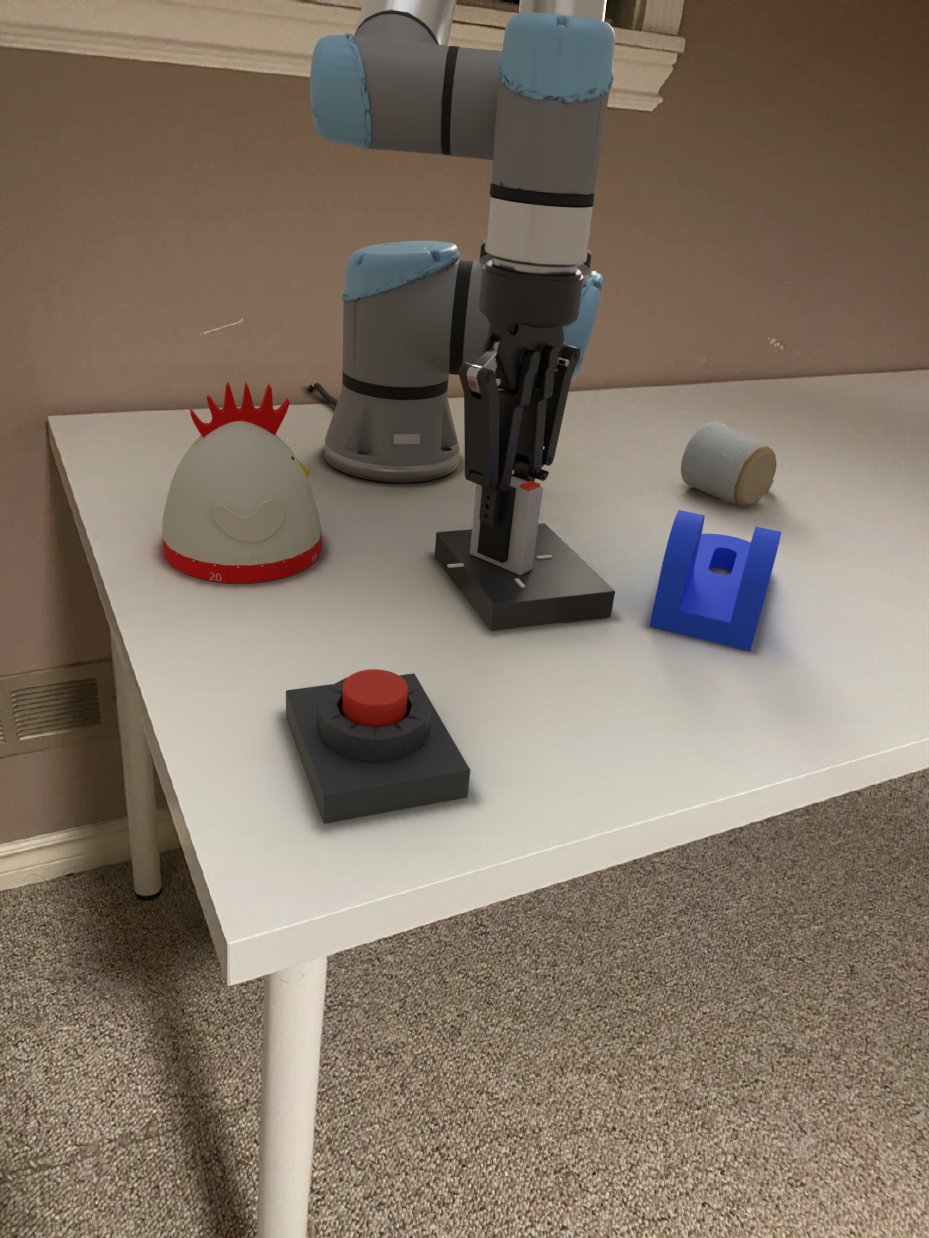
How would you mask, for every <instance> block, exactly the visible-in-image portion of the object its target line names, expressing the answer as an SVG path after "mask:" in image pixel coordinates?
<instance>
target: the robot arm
mask: <svg viewBox="0 0 929 1238" xmlns="http://www.w3.org/2000/svg"><path fill="white" fill-rule="evenodd" d="M457 1H458V0H363V3H362V5H361V9H360V13H359V16H358V19H357V23H356V25H355V29H354V32H353V34H352V33H349V32H346V33H343V34H342V35H341V34H328V35H325V36H324V37H320V38H319V39H318V40H317V42H316V43H315V46H314V47H313V52H312V57H311V62H310V63H311V64H310V73H309V77H310V78H309V97H310V98H309V99H310V111H311V119H312V122H313V126H314V128H315V132H316V133H317V135H318V136H319V137H320V138H321V139H322V140H324V141H325V142H327V143H329V144H331V143H332V144H335V145H336V144H338V145H344V146H348V147H356V148H360V149H361V150H363V151H369V150H381V151H391V152H403V153H404V152H407V153H417V154H427V155H428V154H431V155H440V156H450V157H457V158H468V159H476V160H486V161H492V166H491V167H492V168H491V183H490V185H489V186H490V188H489V201H488V211H487V212H488V213H487V223H486V232H485V239H484V240H482V242H481V243H480V251H479V260H464V259H460V252H459V247H458V246H457V244H455V243H453V242H449V241H438V240H403V241H394V242H383V243H378V244H371V245H368V246H365V247H361V248H359V249H357V250H355V251H354V252H353V253H351V254H350V256H349V257H348V258H347V260H346V263H345V269H344V283H343V292H342V294H341V301H343V309H342V311H343V312H342V313H343V314H342V317H343V319H342V377H341V378H342V379H341V392H340V394H339V396H338V399H337V398H335V397H333V396H332V395H330V393H328V392H327V390H326V389H325V388H324V387H323V385H321V384H320V383H318V382H316V383H315V384H314V387H313V386H312V385H311V384H312V383H310V384H309V385H308V388H307V390H306V391H308V392H314V391H315V390H316V391H317V392H318V393H319V394H320V396H321V397H322V398H323V399H324V400H325V401H326V402H328V403H329V404H331V405H332V406H333V407H335V408H334V411H333V414H332V417H331V420H330V423H329V426H328V429H327V432H326V435H325V437H324V458H325V461H326V462H327V464H329V465H330V466H331V467H333V468H334V469H335V470H338V471H339V472H342V473H344V474H346V475H349V476H353V477H357V478H360V479H364V480H369V481H374V482H375V481H376V482H385V483H419V482H426V481H431V480H436V479H440V478H443V477H445V476H447V475H449V474H451V473H452V472H454V471H455V470H456V469H457V468H458V465H459V459H460V443H459V439H458V436H457V430H456V427H455V423H454V419H453V414H452V411H451V407H450V402H449V396H448V393H449V392H448V391H449V376H450V375H455V376H458V377H459V382H460V384H461V387H462V388H461V389H462V391H463V409H464V410H463V414H464V415H463V419H464V420H463V423H464V424H463V425H464V427H463V428H464V430H463V431H464V435H463V436H464V479H465V480H466V481H469V482H472V483H473V484H475V485H476V484H479V485H481V486H482V494H481V504H480V505H481V506H480V514H479V518H480V530H479V540H478V550H477V553H479V554H482V555H484V556H486V557H489V558H491V559H494V560H496V561H498V562H501V563H504V562H506V561H508V554H509V546H510V537H511V529H512V520H513V512H514V503H515V494H516V488H513V487H510V483H511V477H512V476H513V477H516V478H519V479H522V480H525V481H527V482H528V481H534V482H536V480H539V481H541V482H545V481H546V480H547V479H548V476H549V474H550V471H549V470H546V469H542V468H543V467H544V466H547V467H551V465H552V464H553V463H554V461H555V458H556V457H555V456H556V452H557V447H558V443H559V439H560V438H559V437H560V433H561V428H562V424H563V419H564V414H565V409H566V405H567V401H568V397H569V392H570V386H571V382H572V381H574V380H575V379H576V378H577V376H578V375H579V373H580V371H581V369H582V367H583V363H584V360H585V357H586V354H587V350H588V347H589V344H590V340H591V337H592V333H593V329H594V325H595V320H596V317H597V313H598V309H599V304H600V300H601V294H602V287H603V285H604V277H603V275H602V274H601V273H598V271H596V270H591V264H592V252H591V249H589V246H590V237H591V230H592V220H593V213H594V202H595V196H596V195H595V189H596V183H597V177H598V171H599V165H600V157H601V152H602V146H603V139H604V134H605V133H604V132H605V126H606V119H607V112H608V105H609V104H608V103H609V98H610V90H611V89H612V87H613V83H614V78H615V76H614V74H613V73H614V69H613V68H614V57H615V55H614V54H615V44H616V33H615V30H614V28H613V27H612V26H611V24H609V22H606V21H605V14H606V6H607V0H519V9H518V10H519V12H518V13H516V14H514V15H513V16H511V17H510V18H509V20H508V21H507V23H506V25H505V27H504V33H503V42H502V48H501V50H497V49H484V48H475V47H474V48H472V47H463V46H458V45H449V41H450V35H451V31H452V26H453V21H454V16H455V11H456V7H457V3H458V2H457Z"/></svg>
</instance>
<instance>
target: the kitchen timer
mask: <svg viewBox="0 0 929 1238" xmlns="http://www.w3.org/2000/svg"><path fill="white" fill-rule="evenodd" d="M224 388H225V389H224V398H223V406H222V408H220V407H219V406H218V405H217V403H216V402H215V401H214V399H213V398H212V397H211V395H209V394H207V395H206V401H207V406H208V408H209V412H210V414H211V421H210V422H204V421H202V419H200V417H199V416H198V415H197V413H196V412H195V411H194V410H193V409H192V408H190V409H189V413H190V417H191V420H192V422H193V424H194V426H195V427H196V430H197V432H198V433H199V434H200V435H199V436H198V437H197V438H196V439H195V441H193V443H191V445H190V447H189V448H188V449H187V451H186V452H185V453H184V455H183V456H182V458H181V460H180V461H179V463H178V464H177V467H176V469H175V471H174V474H173V476H172V479H171V482H170V486H169V489H168V493H167V497H166V501H165V505H164V510H163V516H162V527H161V530H162V546H163V556H164V558H165V560H166V561H167V562H168V563H169V565H170V566H171V567H173V568H174V569H176V570H177V571H179V572H181V573H183V574H185V575H187V576H191V577H194V578H198V579H200V580H204V581H211V582H218V583H225V584H254V583H264V582H271V581H276V580H279V579H280V580H281V579H284V578H286V577H290V576H294V575H297V574H299V573H300V572H302V571H304V570H306V569H307V568H310V567H311V566H312V565H313V564H314V563H315V562H316V561H317V560H318V559H320V555H321V552H322V548H323V547H322V543H323V541H322V539H323V538H322V537H323V536H322V535H323V534H322V533H323V532H322V524H321V523H322V522H321V517H320V513H319V510H318V506H317V503H316V500H315V497H314V494H313V491H312V488H311V485H310V482H309V480H308V477H309V476H310V473H311V471H310V469H309V468H308V467H307V466H306V465H304V463H302V462H301V461H300V460H299V459H298V458H297V456H296V455H295V453H294V452H293V451H292V449H291V447H290V446H288V444H287V443H286V442H285V441H284V440H283V439H282V438H281V437H280V436H278V435H277V433H278V432H279V429H280V427H281V425H282V423H283V421H284V419H285V418H286V415H287V413H288V410H289V407H290V400H289V398H288V397H286V399H284V401H283V402H282V403H281V405H280V406H279V407H278V408H277V409H275V408H274V398H273V389H272V386H271V384H270V383H268V384H267V386H266V388H265V390H264V394H263V398H262V400H261V404H260V406H258V408H257V407H255V405H254V401H253V397H252V393H251V391H250V387H249V385H248V382H247V381H245V382H244V386H243V394H242V401H241V405H240V407H237V405H236V402H235V397H234V394H233V390H232V388H231V384H230V383H229V381H226V383H225V387H224Z"/></svg>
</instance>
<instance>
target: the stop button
mask: <svg viewBox="0 0 929 1238" xmlns="http://www.w3.org/2000/svg"><path fill="white" fill-rule="evenodd" d="M399 675H400V674H397V673H395V672H392V671H390V670H385V669H379V668H377V669H375V668H374V669H373V668H372V669H371V668H370V669H363V670H359V671H356V672H353V673H352V674H350V675H349V676H347V677H348V678H347V677H346V678H347V679H346V680H345V682H344V684H343V701H342V710H343V713H344V715H345V717H346V718H347V719H348V720H350V721H352V722H353V723H355V724H358V725H364V726H370V727H381V726H387V725H394V724H396V723H398V722H400V721H401V720H402V719H403V718H404V716H405V715H406V711H407V696H408V686H407V683H406V682H405V680H404V679H403V678H402V677H400V676H399Z"/></svg>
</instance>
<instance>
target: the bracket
mask: <svg viewBox="0 0 929 1238" xmlns="http://www.w3.org/2000/svg"><path fill="white" fill-rule="evenodd" d="M705 517H706V516H705V515H704V514H700V513H696V512H691V511H686V510H681V509H678V510H677V512H676V514H675V516H674V520H673V522H672V526H671V528H670V532H669V536H668V540H667V543H666V547H665V550H664V554H663V558H662V565H661V568H660V569H661V570H660V573H659V578H658V582H657V588H656V592H655V596H654V597H655V598H654V602H653V607H652V611H651V616H650V621H649V627H650V628H651V627H652V628H654V629H660V630H662V631H668V632H671V633H676V634H680V635H683V636H687V637H691V638H696V639H699V640H704V641H707V642H712V643H716V644H720V645H723V646H727V647H732V648H735V649H740V650H743V651H748V652H751V650H752V647H753V643H754V639H755V637H756V636H755V635H756V632H757V628H758V625H759V621H760V617H761V614H762V610H763V606H764V603H765V599H766V596H767V591H768V588H769V584H770V580H771V577H772V572H773V569H774V567H775V566H774V565H775V563H776V557H777V553H778V549H779V545H780V542H781V537H782V531H780V530H775V529H771V528H766V527H762V526H757V525H756V526H754V530H753V533H752V537H751V541H748V540H746V539H743V538H740V537H736V536H733V535H727V534H721V533H703V529H704V524H705V519H706V518H705ZM714 568H720V569H725V570H727V571H728V572H730V573H729V574H718V573H716V572H713V571H711V569H714Z"/></svg>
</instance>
